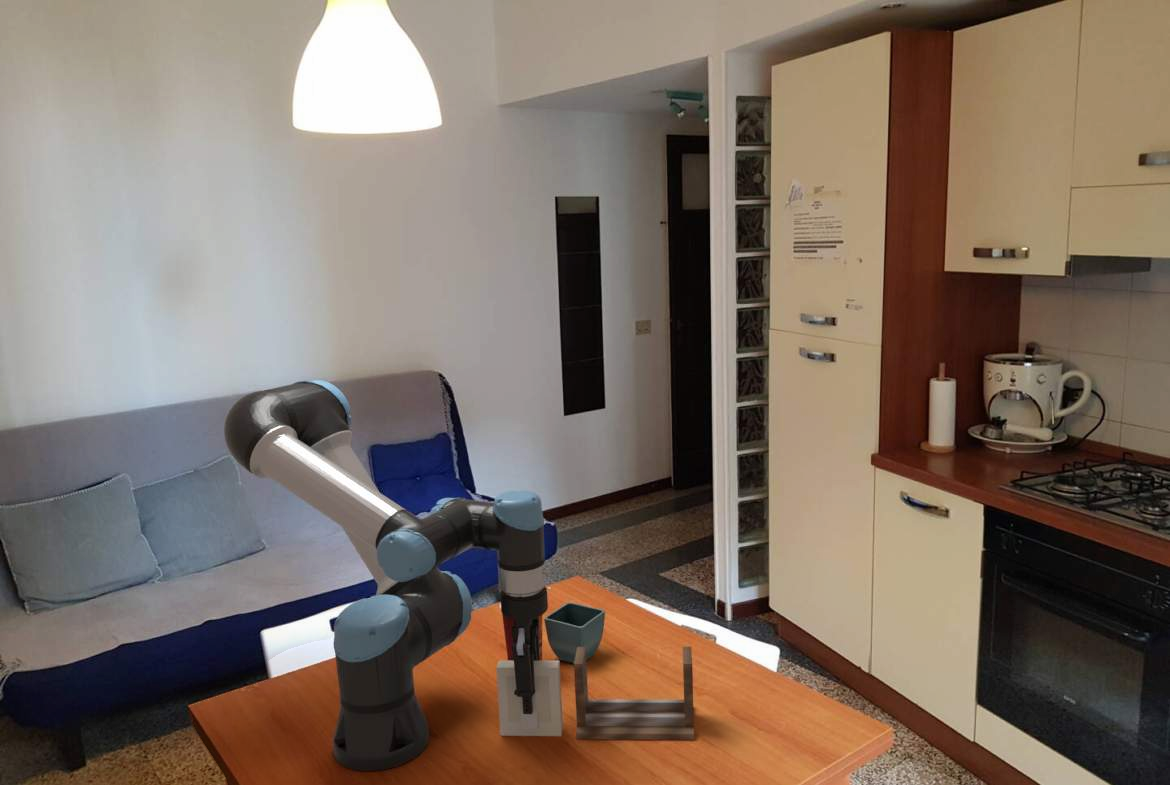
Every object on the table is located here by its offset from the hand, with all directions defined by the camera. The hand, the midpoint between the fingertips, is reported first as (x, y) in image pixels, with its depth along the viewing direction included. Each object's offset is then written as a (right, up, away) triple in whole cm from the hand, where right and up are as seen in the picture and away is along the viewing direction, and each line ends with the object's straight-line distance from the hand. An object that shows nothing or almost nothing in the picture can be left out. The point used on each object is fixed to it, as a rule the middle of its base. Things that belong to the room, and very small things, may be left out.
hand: (531, 723), depth 146 cm
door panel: (0, -2, 0) cm, 2 cm away
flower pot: (+7, +3, +25) cm, 27 cm away
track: (+17, -1, +2) cm, 17 cm away
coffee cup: (-2, +2, +20) cm, 20 cm away
